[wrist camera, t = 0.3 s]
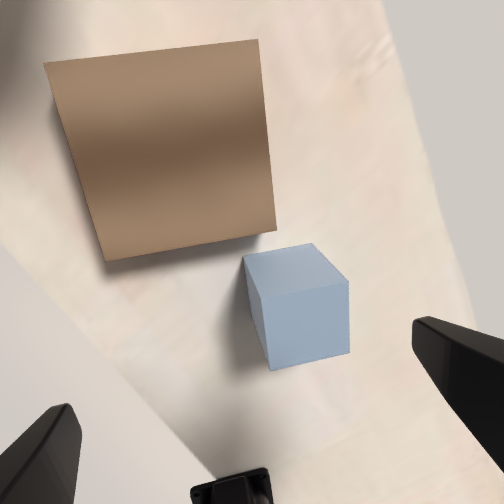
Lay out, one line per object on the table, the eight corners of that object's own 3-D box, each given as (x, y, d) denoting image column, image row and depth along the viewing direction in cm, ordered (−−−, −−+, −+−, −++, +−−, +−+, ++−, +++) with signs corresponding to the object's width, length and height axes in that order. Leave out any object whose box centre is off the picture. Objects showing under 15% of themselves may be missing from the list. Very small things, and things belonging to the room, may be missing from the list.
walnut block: (264, 214, 22) (276, 230, 19) (115, 241, 21) (105, 261, 18) (246, 48, 18) (257, 38, 16) (64, 69, 17) (43, 63, 15)
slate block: (315, 302, 25) (349, 352, 20) (251, 316, 24) (270, 371, 19) (311, 242, 23) (348, 280, 18) (242, 255, 22) (260, 298, 17)
